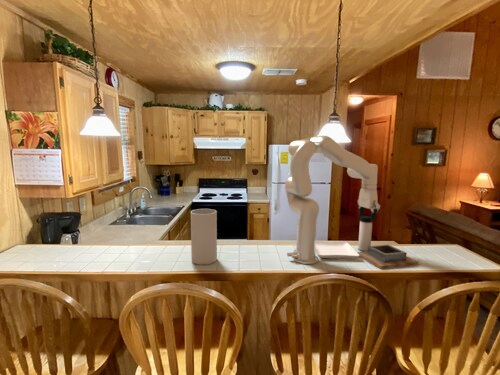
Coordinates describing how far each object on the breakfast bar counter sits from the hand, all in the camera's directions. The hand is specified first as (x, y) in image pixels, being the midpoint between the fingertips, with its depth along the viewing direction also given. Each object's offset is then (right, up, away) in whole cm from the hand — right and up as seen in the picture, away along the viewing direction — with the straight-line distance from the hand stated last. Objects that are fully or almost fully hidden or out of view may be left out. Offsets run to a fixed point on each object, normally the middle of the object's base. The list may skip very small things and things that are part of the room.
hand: (367, 217), depth 150 cm
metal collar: (+5, -19, -11) cm, 22 cm away
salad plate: (-19, -20, -1) cm, 27 cm away
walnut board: (+5, -20, -11) cm, 23 cm away
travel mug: (-1, -19, +2) cm, 19 cm away
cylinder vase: (-88, -20, -13) cm, 91 cm away
